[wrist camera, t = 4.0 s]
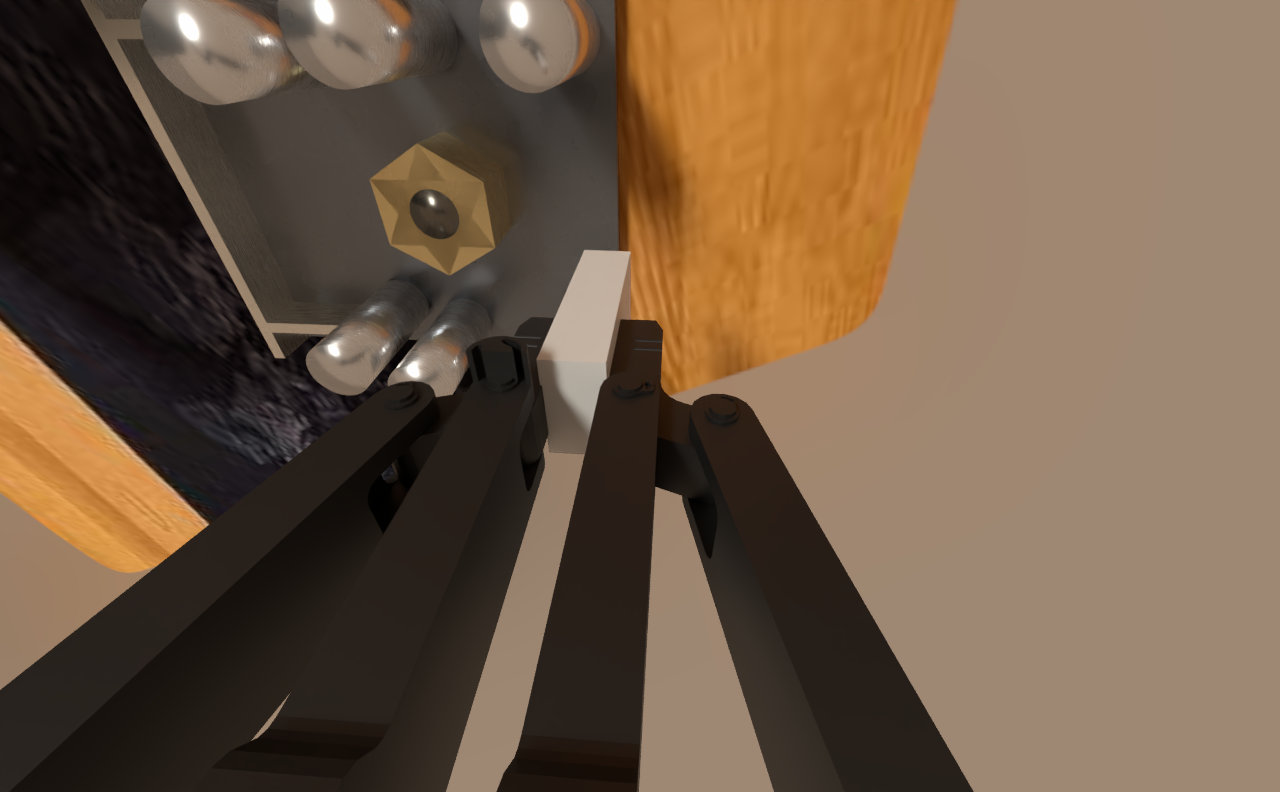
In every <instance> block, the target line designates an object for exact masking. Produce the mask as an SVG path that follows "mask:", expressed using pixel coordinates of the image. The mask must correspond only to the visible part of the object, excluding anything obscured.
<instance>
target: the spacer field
mask: <svg viewBox="0 0 1280 792" xmlns="http://www.w3.org/2000/svg"><path fill="white" fill-rule="evenodd" d="M81 2H82V4H83V5H84V7H85V9H86V11H87V13H88V15H89V16H90V18H91V20H92V22H93V24H94V26H95V27H96V29H97V31H98V33H99V35H100V37H101V38H102V40H103V42H104V44H105V46H106V48H107V50H108V51H109V53H110V55H111V57H112V59H113V61H114V62H115V64H116V66H117V68H118V70H119V72H120V73H121V75H122V77H123V79H124V81H125V83H126V84H127V86H128V88H129V90H130V92H131V94H132V95H133V97H134V99H135V101H136V103H137V105H138V107H139V108H140V110H141V112H142V114H143V116H144V118H145V119H146V121H147V123H148V125H149V127H150V129H151V130H152V132H153V134H154V136H155V138H156V140H157V141H158V143H159V145H160V147H161V149H162V151H163V153H164V154H165V156H166V158H167V160H168V162H169V164H170V165H171V167H172V169H173V171H174V173H175V175H176V176H177V178H178V180H179V182H180V184H181V186H182V187H183V189H184V191H185V193H186V195H187V197H188V198H189V200H190V202H191V204H192V206H193V208H194V210H195V211H196V213H197V215H198V217H199V219H200V221H201V222H202V224H203V226H204V228H205V230H206V232H207V233H208V235H209V237H210V239H211V241H212V243H213V244H214V246H215V248H216V250H217V252H218V254H219V256H220V257H221V259H222V261H223V263H224V265H225V267H226V268H227V270H228V272H229V274H230V276H231V278H232V279H233V281H234V283H235V285H236V287H237V289H238V290H239V292H240V294H241V296H242V298H243V300H244V302H245V303H246V305H247V307H248V309H249V311H250V313H251V314H252V316H253V318H254V320H255V322H256V324H257V325H258V327H259V329H260V331H261V333H262V335H263V336H264V338H265V340H266V342H267V344H268V346H269V347H270V349H271V351H272V353H273V355H274V357H275V358H286V357H287V356H289V355H290V354H291V353H292V352H293V351H294V350H296V349H297V348H298V347H299V346H300V345H301V344H303V343H304V342H305V341H306V340H307V339H308V338H310V337H311V336H323V337H325V338H323V339H322V340H321V341H320V342H319V343H318V344H317V345H316V346H314V347H313V348H312V349H311V350H310V351H309V352H308V354H307V357H306V365H307V368H308V370H309V372H310V374H311V375H312V376H313V378H314V379H315V380H316V381H317V382H318V383H320V384H321V385H322V386H324V387H325V388H327V389H329V390H331V391H333V392H336V393H339V394H343V395H357V394H360V393H362V392H364V391H365V390H366V389H367V388H368V387H369V385H370V384H371V383H372V382H373V381H374V379H375V378H376V377H377V376H378V375H379V373H380V372H381V371H382V370H383V369H384V368H385V366H386V365H387V364H388V363H389V362H390V360H391V359H392V358H393V357H394V356H395V355H396V353H397V352H398V351H399V350H400V349H401V347H402V346H403V345H404V344H405V343H406V341H407V340H418V341H417V342H416V344H415V345H414V346H413V347H412V349H411V350H410V351H409V352H408V353H407V355H406V356H405V357H404V358H403V360H402V361H401V362H400V363H399V365H398V366H397V367H396V368H395V370H394V371H393V372H392V373H391V375H390V376H389V378H388V386H390V385H393V384H396V383H399V382H405V381H419V382H424V383H426V384H429V385H430V386H431V387H432V388H433V390H434V392H435V395H436V397H440V396H447V395H453V393H454V391H455V390H456V388H457V386H458V385H459V383H460V381H461V379H462V378H463V376H464V374H465V373H466V371H467V369H468V368H469V362H468V358H467V354H466V349H467V348H468V347H469V346H470V345H471V344H473V343H475V342H477V341H479V340H481V339H485V338H489V337H493V336H509V337H514V335H515V333H516V331H517V330H518V328H519V326H520V325H521V324H522V323H524V322H525V321H527V320H528V319H530V318H531V317H546V318H555V316H556V314H557V311H558V309H559V307H560V305H561V302H562V300H563V298H564V295H565V293H566V291H567V289H568V286H569V284H570V282H571V279H572V277H573V275H574V273H575V270H576V268H577V266H578V263H579V261H580V259H581V257H582V254H583V252H584V250H601V251H620V227H619V158H618V90H617V21H616V0H81ZM443 131H445V132H447V133H448V134H450V135H452V136H453V137H455V138H457V139H458V140H460V141H462V142H463V143H465V144H467V145H468V146H470V147H472V148H473V149H475V150H477V151H478V152H480V153H482V154H483V155H485V156H487V157H488V158H490V159H492V160H493V161H495V162H497V163H498V164H500V165H502V166H503V171H504V177H505V184H506V190H507V197H508V204H509V210H510V217H511V223H512V228H511V229H510V230H509V231H508V233H507V234H506V235H505V236H504V238H503V239H502V240H501V241H500V243H499V244H498V245H497V246H496V248H494V249H493V250H491V251H489V252H488V253H486V254H484V255H483V256H481V257H480V258H478V259H476V260H475V261H473V262H471V263H470V264H468V265H466V266H465V267H463V268H461V269H460V270H458V271H456V272H455V273H453V274H451V275H450V276H449V275H447V274H445V273H444V272H442V271H440V270H438V269H436V268H434V267H432V266H430V265H428V264H426V263H424V262H422V261H420V260H418V259H416V258H414V257H413V256H411V255H409V254H407V253H405V252H403V251H401V250H399V249H397V248H395V247H393V246H391V245H390V243H389V240H388V237H387V234H386V230H385V227H384V224H383V221H382V218H381V215H380V211H379V208H378V205H377V202H376V199H375V195H374V192H373V189H372V186H371V183H370V178H372V177H373V176H374V175H376V174H377V173H378V172H380V171H381V170H382V169H384V168H385V167H386V166H388V165H389V164H390V163H392V162H393V161H394V160H396V159H397V158H398V157H400V156H401V155H402V154H404V153H405V152H406V151H408V150H409V149H410V148H412V147H413V146H414V145H416V144H417V143H419V142H421V141H423V140H426V139H428V138H430V137H432V136H434V135H437V134H439V133H441V132H443Z"/></svg>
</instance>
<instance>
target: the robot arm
mask: <svg viewBox="0 0 1280 792" xmlns="http://www.w3.org/2000/svg"><path fill="white" fill-rule="evenodd" d="M662 339H663V330H662V328H661V327H660V325H659V324H658V323H657V321H651V320H631V252H630V251H601V250H584V252H583V254H582V257H581V259H580V261H579V263H578V266H577V268H576V270H575V273H574V275H573V277H572V279H571V282H570V284H569V286H568V289H567V291H566V293H565V295H564V298H563V300H562V302H561V305H560V307H559V309H558V311H557V314H556V316H555V318H546V317H531V318H530V319H528V320H527V321H525V322H524V323H522V324H521V325H520V326H519V328H518V330H517V331H516V333H515V335H514V337H509V336H493V337H489V338H485V339H481V340H479V341H477V342H475V343H473V344H471V345H470V346H469V347H468V348H467V349H466V354H467V358H468V362H469V366H470V370H471V374H472V379H473V383H472V385H471V386H470V388H469V390H468V391H467V392H464V393H459V394H453V395H447V396H440V397H436V395H435V392H434V390H433V388H432V387H431V386H430V385H429V384H426V383H424V382H419V381H405V382H399V383H396V384H393V385H390V386H387V387H385V388H383V389H382V390H380V391H378V392H377V393H375V394H374V395H373V396H371V397H370V398H369V399H368V400H366V401H365V402H364V403H363V404H361V405H360V406H359V407H358V408H356V409H355V410H354V411H353V412H351V413H350V414H349V415H347V416H346V417H345V418H344V419H342V420H341V421H340V422H339V423H337V424H336V425H335V426H334V427H332V428H331V429H330V430H328V431H327V432H326V433H325V434H323V435H322V436H321V437H320V438H318V439H317V440H316V441H315V442H313V443H312V444H311V445H310V446H308V447H307V448H306V449H304V450H303V451H302V452H301V453H299V454H298V455H297V456H296V457H294V458H293V459H292V460H291V461H289V462H288V463H287V464H286V465H284V466H283V467H282V468H280V469H279V470H278V471H277V472H275V473H274V474H273V475H272V476H270V477H269V478H268V479H267V480H265V481H264V482H263V483H261V484H260V485H259V486H258V487H256V488H255V489H254V490H253V491H251V492H250V493H249V494H248V495H246V496H245V497H244V498H243V499H241V500H240V501H239V502H237V503H236V504H235V505H234V506H232V507H231V508H230V509H229V510H227V511H226V512H225V513H224V514H222V515H221V516H220V517H218V518H217V519H216V520H215V521H213V522H212V523H211V524H210V525H208V526H207V527H206V528H205V529H203V530H202V531H201V532H200V533H198V534H197V535H196V536H194V537H193V538H192V539H191V540H189V541H188V542H187V543H186V544H184V545H183V546H182V547H181V548H179V549H178V550H177V551H176V552H174V553H173V554H172V555H170V556H169V557H168V558H167V559H165V560H164V561H163V562H162V563H160V564H159V565H158V566H157V567H155V568H154V569H153V570H151V571H150V572H149V573H148V574H146V575H145V576H144V577H143V578H141V579H140V580H139V581H138V582H136V583H135V584H134V585H133V586H132V587H130V588H129V589H128V590H126V591H125V592H124V593H122V594H121V595H120V596H119V597H118V598H116V599H115V600H114V601H112V602H111V603H110V604H109V605H107V606H106V607H105V608H103V609H102V610H101V611H100V612H98V613H97V614H96V615H95V616H93V617H92V618H91V619H90V620H88V621H87V622H86V623H85V624H83V625H82V626H81V627H80V628H78V629H77V630H76V631H74V632H73V633H72V634H71V635H69V636H68V637H67V638H66V639H64V640H63V641H62V642H60V643H59V644H58V645H57V646H55V647H54V648H53V649H52V650H50V651H49V652H48V653H47V654H45V655H44V656H43V657H41V658H40V659H39V660H38V661H37V662H35V663H34V664H33V665H31V666H30V667H29V668H28V669H26V670H25V671H24V672H23V673H21V674H20V675H19V676H17V677H16V678H15V679H14V680H12V681H11V682H10V683H9V684H7V685H6V686H5V687H4V688H2V689H1V690H0V792H446V789H447V786H448V783H449V779H450V776H451V773H452V770H453V766H454V763H455V760H456V757H457V753H458V750H459V747H460V743H461V740H462V737H463V734H464V730H465V727H466V724H467V720H468V717H469V714H470V711H471V707H472V704H473V701H474V697H475V694H476V691H477V688H478V684H479V681H480V678H481V674H482V671H483V668H484V665H485V661H486V658H487V655H488V652H489V648H490V645H491V641H492V638H493V635H494V632H495V629H496V625H497V622H498V619H499V615H500V612H501V609H502V605H503V602H504V599H505V595H506V592H507V589H508V586H509V583H510V579H511V576H512V573H513V569H514V566H515V563H516V560H517V556H518V553H519V550H520V547H521V543H522V540H523V537H524V533H525V530H526V527H527V523H528V520H529V517H530V514H531V510H532V507H533V504H534V500H535V497H536V494H537V491H538V488H539V484H540V481H541V478H542V474H543V471H544V468H545V460H544V453H543V448H544V446H545V443H546V439H547V438H548V445H549V452H554V453H573V454H585V456H584V461H583V465H582V469H581V474H580V478H579V483H578V488H577V492H576V496H575V500H574V505H573V509H572V514H571V518H570V522H569V527H568V531H567V536H566V540H565V545H564V549H563V554H562V558H561V562H560V567H559V571H558V576H557V580H556V584H555V589H554V593H553V598H552V602H551V606H550V611H549V615H548V620H547V624H546V629H545V633H544V637H543V642H542V646H541V651H540V655H539V659H538V664H537V668H536V673H535V677H534V682H533V686H532V691H531V696H530V699H529V704H528V708H527V713H526V717H525V721H524V726H523V730H522V735H521V738H520V742H519V746H518V749H517V752H516V755H515V757H514V759H513V760H512V762H511V763H510V765H509V766H508V768H507V769H506V771H505V772H504V774H503V777H502V779H501V782H500V784H499V787H498V789H497V792H639V778H640V758H641V741H642V740H641V739H642V722H643V703H644V684H645V667H646V648H647V630H648V611H649V592H650V574H651V556H652V536H653V518H654V500H655V487H658V488H661V489H664V490H667V491H670V492H673V493H676V494H679V495H682V500H683V504H684V508H685V511H686V514H687V517H688V520H689V523H690V527H691V530H692V533H693V536H694V539H695V542H696V546H697V549H698V552H699V555H700V558H701V562H702V565H703V568H704V571H705V574H706V577H707V581H708V584H709V587H710V590H711V593H712V596H713V599H714V603H715V606H716V609H717V612H718V615H719V618H720V622H721V625H722V628H723V631H724V634H725V638H726V641H727V644H728V647H729V650H730V653H731V656H732V660H733V663H734V666H735V669H736V672H737V676H738V679H739V682H740V685H741V688H742V691H743V695H744V698H745V701H746V704H747V707H748V710H749V713H750V716H751V720H752V723H753V726H754V729H755V733H756V736H757V739H758V742H759V745H760V749H761V752H762V755H763V758H764V761H765V764H766V768H767V771H768V774H769V777H770V780H771V783H772V787H773V789H774V792H973V790H972V788H971V787H970V785H969V783H968V781H967V780H966V778H965V776H964V774H963V773H962V771H961V769H960V767H959V766H958V764H957V762H956V760H955V759H954V757H953V756H952V754H951V752H950V750H949V748H948V747H947V745H946V743H945V741H944V740H943V738H942V737H941V735H940V733H939V731H938V730H937V728H936V726H935V724H934V722H933V721H932V719H931V717H930V716H929V714H928V712H927V710H926V709H925V707H924V705H923V704H922V702H921V700H920V698H919V697H918V695H917V693H916V691H915V690H914V688H913V686H912V685H911V683H910V681H909V679H908V678H907V676H906V674H905V672H904V671H903V669H902V667H901V666H900V664H899V662H898V660H897V659H896V657H895V655H894V653H893V652H892V650H891V648H890V646H889V645H888V643H887V641H886V640H885V638H884V636H883V634H882V633H881V631H880V629H879V627H878V626H877V624H876V622H875V621H874V619H873V617H872V615H871V614H870V612H869V610H868V609H867V607H866V605H865V604H864V601H863V600H862V598H861V596H860V595H859V593H858V591H857V589H856V588H855V586H854V584H853V582H852V581H851V579H850V577H849V576H848V574H847V572H846V570H845V569H844V567H843V565H842V563H841V562H840V560H839V558H838V557H837V555H836V553H835V551H834V550H833V548H832V546H831V544H830V543H829V541H828V539H827V538H826V536H825V534H824V532H823V531H822V529H821V528H820V525H819V524H818V522H817V520H816V519H815V517H814V515H813V513H812V512H811V510H810V508H809V507H808V505H807V503H806V501H805V500H804V498H803V496H802V494H801V493H800V491H799V489H798V488H797V486H796V484H795V482H794V481H793V479H792V477H791V475H790V474H789V472H788V470H787V468H786V467H785V465H784V463H783V462H782V460H781V458H780V456H779V455H778V453H777V451H776V450H775V448H774V446H773V444H772V443H771V441H770V439H769V437H768V436H767V434H766V432H765V431H764V429H763V427H762V425H761V424H760V422H759V420H758V419H757V417H756V415H755V413H754V411H753V410H752V409H751V407H750V406H748V404H747V403H746V402H744V401H742V400H740V399H739V398H737V397H733V396H730V395H725V394H710V395H706V396H703V397H700V398H699V399H697V400H696V401H694V403H693V405H689V404H685V403H682V402H679V401H676V400H675V399H673V398H671V397H669V396H668V395H667V394H666V393H665V392H664V391H663V389H662V387H661V383H660V381H661V361H662ZM391 464H392V467H393V469H394V471H395V473H394V474H393V476H392V477H390V478H389V479H387V480H386V481H384V480H383V478H382V475H381V474H382V473H383V472H384V471H385V470H386V469H387V468H388V467H389V466H390V465H391ZM290 692H291V693H290ZM289 694H290V695H289ZM288 695H289V696H288ZM287 696H288V698H287V700H286V702H285V703H284V705H283V707H282V708H281V710H280V712H279V713H278V715H277V716H276V718H275V719H274V721H273V722H272V724H271V725H270V727H269V728H268V729H267V730H266V731H265V732H264V733H263V734H262V735H260V736H259V737H258V738H257V739H254V740H252V739H253V738H254V736H255V735H256V734H257V733H258V732H259V730H260V729H261V728H262V727H263V726H264V724H265V723H266V722H267V721H268V719H269V718H270V717H271V716H272V714H273V713H274V712H275V711H276V710H277V708H278V707H279V706H280V705H281V703H282V702H283V701H284V700H285V699H286V697H287ZM251 740H252V741H251Z"/></svg>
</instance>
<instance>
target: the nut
mask: <svg viewBox="0 0 1280 792" xmlns="http://www.w3.org/2000/svg"><path fill="white" fill-rule="evenodd" d="M370 183H371V186H372V189H373V192H374V195H375V199H376V202H377V205H378V208H379V211H380V215H381V218H382V221H383V224H384V227H385V230H386V234H387V237H388V240H389V243H390V245H391V246H393V247H395V248H397V249H399V250H401V251H403V252H405V253H407V254H409V255H411V256H413V257H414V258H416V259H418V260H420V261H422V262H424V263H426V264H428V265H430V266H432V267H434V268H436V269H438V270H440V271H442V272H444V273H445V274H447V275H449V276H450V275H451V274H453V273H455V272H456V271H458V270H460V269H461V268H463V267H465V266H466V265H468V264H470V263H471V262H473V261H475V260H476V259H478V258H480V257H481V256H483V255H484V254H486V253H488V252H489V251H491V250H493V249H494V248H496V246H497V245H498V244H499V243H500V241H501V240H502V239H503V238H504V236H505V235H506V234H507V233H508V231H509V230H510V229H511V228H512V223H511V217H510V210H509V204H508V197H507V190H506V184H505V177H504V171H503V166H502V165H500V164H498V163H497V162H495V161H493V160H492V159H490V158H488V157H487V156H485V155H483V154H482V153H480V152H478V151H477V150H475V149H473V148H472V147H470V146H468V145H467V144H465V143H463V142H462V141H460V140H458V139H457V138H455V137H453V136H452V135H450V134H448V133H447V132H445V131H443V132H441V133H439V134H437V135H434V136H432V137H430V138H428V139H426V140H423V141H421V142H419V143H417V144H416V145H414V146H413V147H412V148H410V149H409V150H408V151H406V152H405V153H404V154H402V155H401V156H400V157H398V158H397V159H396V160H394V161H393V162H392V163H390V164H389V165H388V166H386V167H385V168H384V169H382V170H381V171H380V172H378V173H377V174H376V175H374V176H373V177H372V178H370Z"/></svg>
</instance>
